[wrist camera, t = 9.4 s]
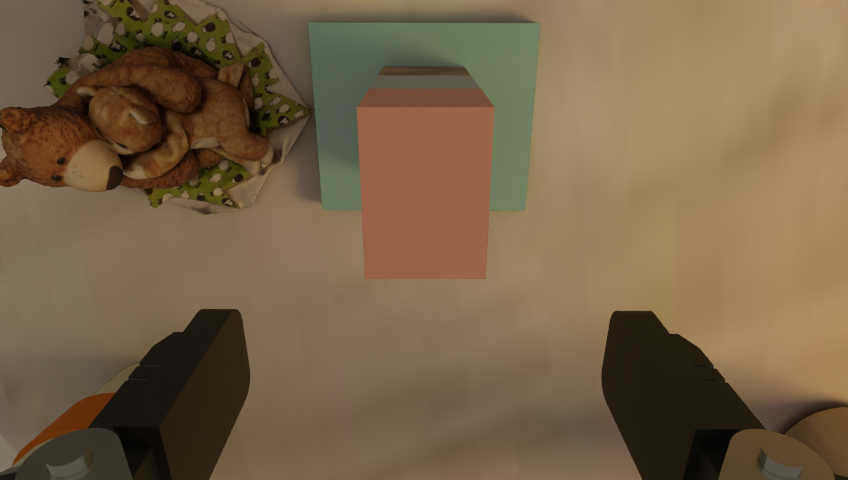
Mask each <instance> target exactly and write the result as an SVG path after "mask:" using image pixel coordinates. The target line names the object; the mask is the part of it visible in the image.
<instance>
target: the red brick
mask: <svg viewBox="0 0 848 480" xmlns="http://www.w3.org/2000/svg"><path fill="white" fill-rule="evenodd" d="M494 108H495V107H494V106H493V104H492V103H491V102H490V100H489V99H488V97H487V96H486V95H485V93H484V92H483V91H482V89H481V88H480V89H369V90H368V91H367V93H366V94H365V96H364V97H363V99H362V100H361V102H360V103H359V105H358V106H357V124H358V144H359V164H360V184H361V205H362V225H363V245H364V265H365V279H486V264H487V245H488V225H489V205H490V186H491V166H492V147H493V127H494Z"/></svg>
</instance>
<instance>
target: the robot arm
mask: <svg viewBox="0 0 848 480" xmlns="http://www.w3.org/2000/svg"><path fill="white" fill-rule="evenodd" d="M249 384H250V367H249V361H248V354H247V348H246V341H245V335H244V328H243V322H242V317H241V314H240V312H239V310H237V309H201V310H200V311H199V312H198V313H197V314H196V315H195V317H194V318H193V319H192V321H191V322H190V323H189V325H188V326H187V327H186V329H185V330H184V331H183V332H174V333H172V334H171V335H169V336H168V337H166V338H165V339H163V340H162V341H160V342H159V343H157V344H156V345H154V346H153V347H152V348H151V349H150V351H149V352H148V353H147V354H146V356H145V357H144V358H143V359H142V361H141V362H140V365H139V366H137V367H136V368H135V369H134V370H133V372H132V373H131V374H130V375H129V377H128V381H125V382H124V383H123V384H122V385H121V387H120V388H119V389H118V390H117V392H116V393H115V394H114V395H113V397H112V398H111V399H110V400H109V402H108V403H107V404H106V405H105V406H104V408H103V409H102V410H101V411H100V413H99V414H98V415H97V416H96V418H95V419H94V420H93V421H92V423H91V424H90V425H89V426H88V428H86V429H80V430H76V431H72V432H69V433H66V434H64V435H61V436H59V437H56V438H54V439H53V440H51V441H49V442H47V443H45V444H44V445H42V446H41V447H39V448H38V449H37V450H35V451H34V452H33V453H32V454H31V455H30V456H28V457H27V458H26V459H25V461H24V462H23V463H22V464H21V466H20V467H19V469H18V471H17V472H13V473H9V474H5V475H0V480H209V479H210V477H211V474H212V472H213V470H214V468H215V466H216V463H217V461H218V459H219V457H220V455H221V452H222V450H223V448H224V446H225V444H226V442H227V439H228V437H229V435H230V433H231V431H232V428H233V426H234V424H235V422H236V420H237V417H238V415H239V413H240V411H241V409H242V406H243V404H244V402H245V400H246V397H247V394H248V390H249ZM602 389H603V394H604V397H605V400H606V403H607V405H608V407H609V409H610V411H611V413H612V415H613V418H614V420H615V422H616V424H617V426H618V428H619V430H620V433H621V435H622V437H623V439H624V441H625V443H626V445H627V448H628V450H629V452H630V454H631V456H632V458H633V460H634V463H635V465H636V467H637V469H638V471H639V473H640V475H641V478H642V480H848V407H840V408H833V409H827V410H824V411H821V412H817V413H815V414H813V415H811V416H808V417H806V418H804V419H803V420H801V421H800V422H798V423H797V424H795V425H794V426H793V427H792V428H791V429H790V430H788V431H787V432H786V433H785V435H784V434H780V433H777V432H774V431H770V430H766V429H765V428H764V427H763V425H762V424H761V423H760V422H759V420H758V419H757V418H756V417H755V416H754V414H753V413H752V412H751V411H750V409H749V408H748V407H747V406H746V405H745V403H744V402H743V401H742V400H741V398H740V397H739V396H738V395H737V394H736V392H735V391H734V390H733V389H732V387H731V386H730V385H729V384H728V383H725V379H724V378H723V376H722V375H721V374H720V373H719V371H718V370H717V369H714V368H713V364H712V363H711V362H710V360H709V359H708V358H707V357H706V356H705V354H704V353H703V352H702V351H701V349H700V348H698V347H697V346H695V345H694V344H692V343H691V342H689V341H688V340H686V339H685V338H683V337H682V336H680V335H679V334H669V332H668V331H667V330H666V328H665V327H664V326H663V324H662V323H661V322H660V320H659V319H658V318H657V316H656V315H655V314H654V313H653V312H652V311H615V312H613V314H612V316H611V319H610V324H609V330H608V336H607V342H606V348H605V354H604V360H603V366H602Z"/></svg>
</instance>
